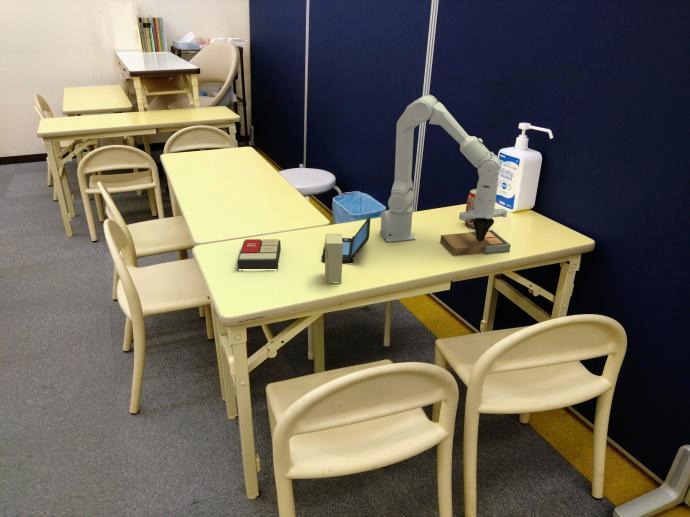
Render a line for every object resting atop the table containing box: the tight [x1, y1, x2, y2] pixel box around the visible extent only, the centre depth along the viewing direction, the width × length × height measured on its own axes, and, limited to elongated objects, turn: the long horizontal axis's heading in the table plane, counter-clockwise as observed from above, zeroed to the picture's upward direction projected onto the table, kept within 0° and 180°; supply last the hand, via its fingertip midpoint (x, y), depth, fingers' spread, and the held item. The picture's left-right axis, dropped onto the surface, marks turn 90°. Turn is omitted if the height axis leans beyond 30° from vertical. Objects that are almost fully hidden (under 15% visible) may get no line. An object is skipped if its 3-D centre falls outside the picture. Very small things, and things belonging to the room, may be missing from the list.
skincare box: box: [324, 233, 343, 284], centre depth 139 cm, size 6×4×12 cm
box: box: [469, 229, 511, 255], centre depth 162 cm, size 8×12×2 cm
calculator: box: [236, 238, 282, 270], centre depth 152 cm, size 11×4×15 cm
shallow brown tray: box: [439, 231, 485, 257], centre depth 160 cm, size 10×10×2 cm
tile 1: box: [481, 232, 496, 243], centre depth 165 cm, size 4×4×2 cm
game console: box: [321, 217, 371, 264], centre depth 155 cm, size 16×14×9 cm
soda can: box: [464, 188, 477, 229], centre depth 174 cm, size 7×7×12 cm
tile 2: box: [484, 238, 503, 246], centre depth 160 cm, size 4×4×2 cm
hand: (479, 240), depth 159 cm, fingers closed
